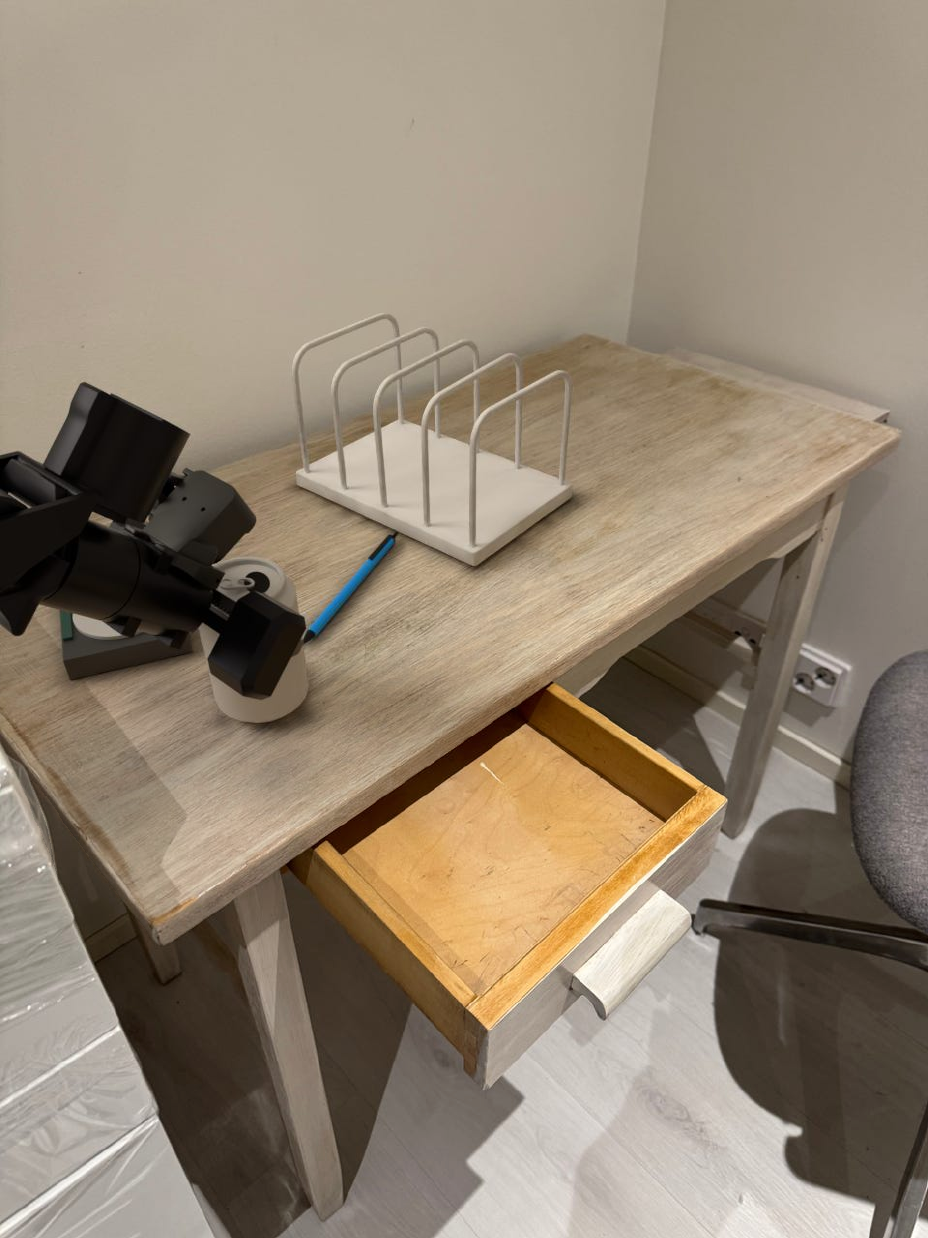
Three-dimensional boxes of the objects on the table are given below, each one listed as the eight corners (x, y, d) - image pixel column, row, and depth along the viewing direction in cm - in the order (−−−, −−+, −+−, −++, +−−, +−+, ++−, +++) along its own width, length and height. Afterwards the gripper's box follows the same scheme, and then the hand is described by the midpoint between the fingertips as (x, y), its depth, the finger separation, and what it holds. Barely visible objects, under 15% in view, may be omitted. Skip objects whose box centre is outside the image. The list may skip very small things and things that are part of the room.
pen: (401, 537, 91) (400, 528, 90) (306, 650, 77) (304, 640, 76) (393, 535, 91) (392, 526, 90) (297, 648, 77) (295, 638, 76)
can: (320, 715, 71) (304, 596, 63) (225, 741, 69) (197, 620, 61) (298, 657, 76) (281, 540, 69) (209, 679, 74) (182, 560, 67)
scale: (69, 680, 74) (61, 656, 72) (64, 610, 81) (56, 587, 79) (192, 652, 77) (187, 628, 75) (177, 586, 84) (171, 564, 82)
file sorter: (573, 499, 97) (586, 361, 87) (474, 571, 86) (477, 424, 76) (400, 430, 109) (395, 302, 99) (295, 487, 98) (278, 350, 88)
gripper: (263, 512, 51) (402, 580, 64) (82, 415, 60) (237, 492, 74) (174, 685, 51) (331, 717, 65) (7, 562, 60) (175, 612, 74)
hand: (266, 626), depth 69 cm, fingers closed on can, 7 cm apart
